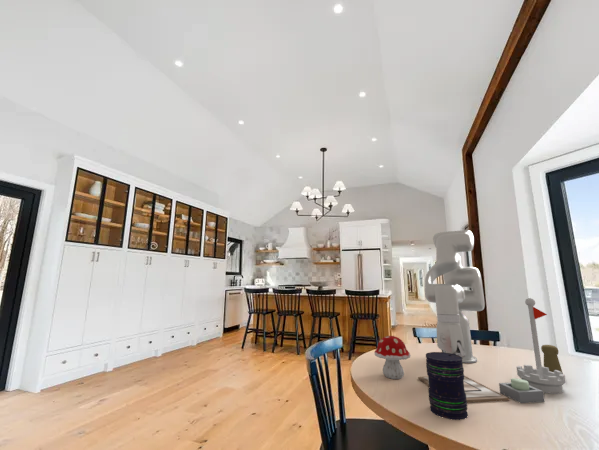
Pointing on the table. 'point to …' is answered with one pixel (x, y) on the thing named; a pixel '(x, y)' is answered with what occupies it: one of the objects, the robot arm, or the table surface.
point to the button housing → (522, 393)
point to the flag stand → (541, 375)
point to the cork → (551, 358)
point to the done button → (519, 384)
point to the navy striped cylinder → (446, 385)
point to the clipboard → (475, 391)
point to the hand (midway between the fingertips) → (453, 371)
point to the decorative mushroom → (392, 356)
